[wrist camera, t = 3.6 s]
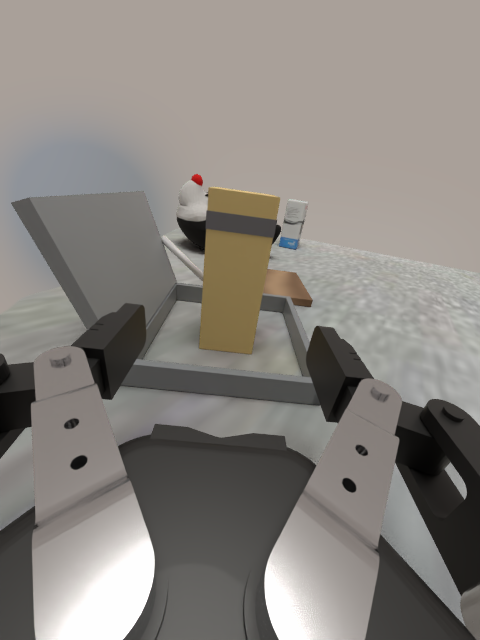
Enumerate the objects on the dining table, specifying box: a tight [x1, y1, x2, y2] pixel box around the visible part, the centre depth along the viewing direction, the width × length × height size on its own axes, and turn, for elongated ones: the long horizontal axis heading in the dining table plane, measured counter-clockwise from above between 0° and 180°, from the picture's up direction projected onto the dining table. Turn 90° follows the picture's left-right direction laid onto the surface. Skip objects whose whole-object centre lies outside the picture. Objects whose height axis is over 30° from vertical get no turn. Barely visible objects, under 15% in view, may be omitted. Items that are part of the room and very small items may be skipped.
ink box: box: [279, 199, 308, 249], centre depth 68 cm, size 8×5×12 cm, turn 161°
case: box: [11, 191, 320, 405], centre depth 22 cm, size 18×16×12 cm
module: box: [199, 187, 280, 354], centre depth 22 cm, size 5×5×13 cm
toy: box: [176, 174, 281, 248], centre depth 54 cm, size 16×17×21 cm
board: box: [263, 269, 313, 307], centre depth 39 cm, size 14×12×1 cm
